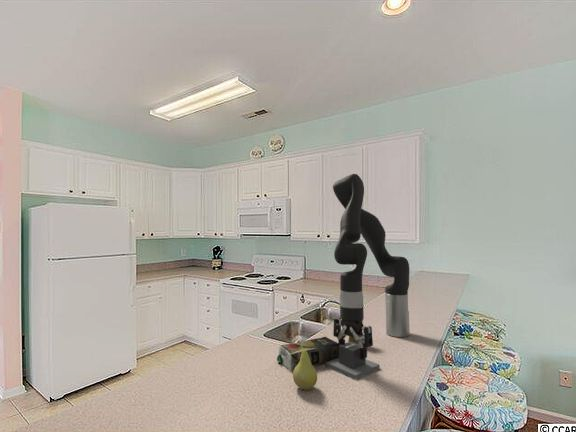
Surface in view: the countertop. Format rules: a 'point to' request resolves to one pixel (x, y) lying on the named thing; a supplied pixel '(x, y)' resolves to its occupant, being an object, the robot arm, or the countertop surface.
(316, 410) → the countertop surface
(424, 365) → the countertop surface
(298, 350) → the juice carton
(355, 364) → the knob
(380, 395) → the countertop surface
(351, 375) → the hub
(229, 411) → the countertop surface
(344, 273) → the robot arm
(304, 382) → the fruit
